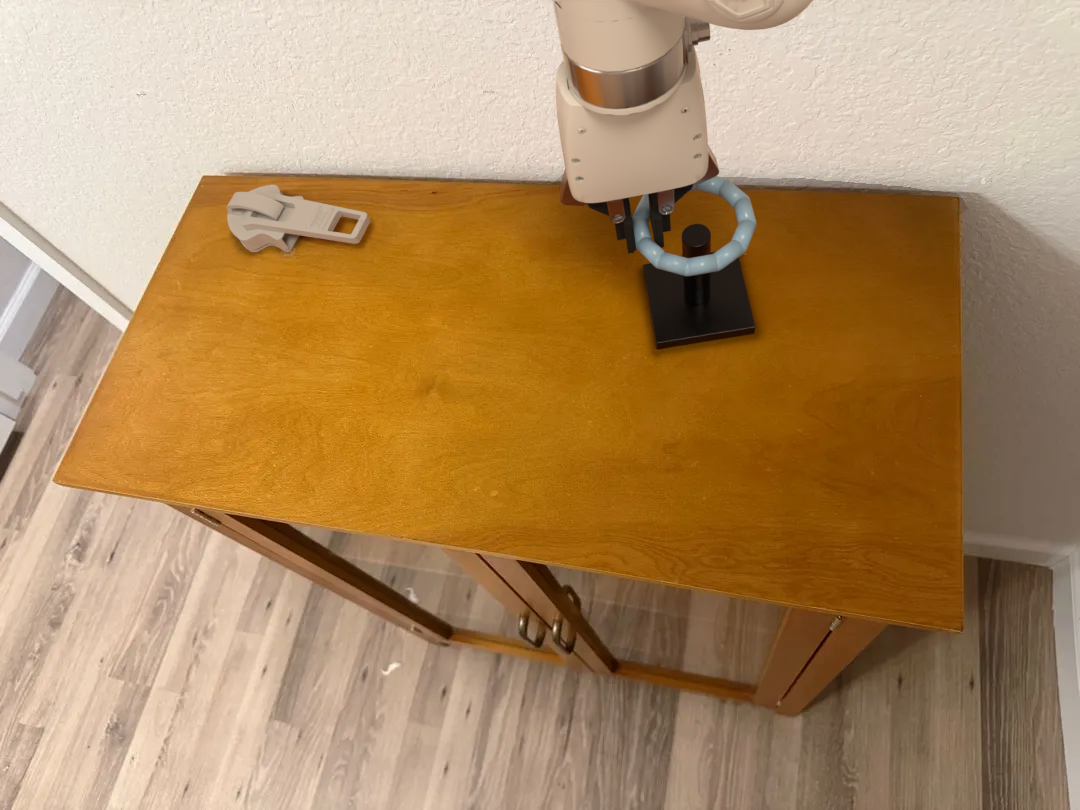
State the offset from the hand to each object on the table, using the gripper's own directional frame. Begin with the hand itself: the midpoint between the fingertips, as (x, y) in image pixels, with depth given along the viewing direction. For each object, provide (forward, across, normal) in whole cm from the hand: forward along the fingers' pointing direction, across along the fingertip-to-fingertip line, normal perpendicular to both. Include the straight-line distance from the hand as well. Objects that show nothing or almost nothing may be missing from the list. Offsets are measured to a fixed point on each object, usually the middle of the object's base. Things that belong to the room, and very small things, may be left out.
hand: (643, 235), depth 64 cm
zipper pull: (+12, +37, -18) cm, 42 cm away
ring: (-1, -4, 0) cm, 4 cm away
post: (+11, -4, 0) cm, 12 cm away
